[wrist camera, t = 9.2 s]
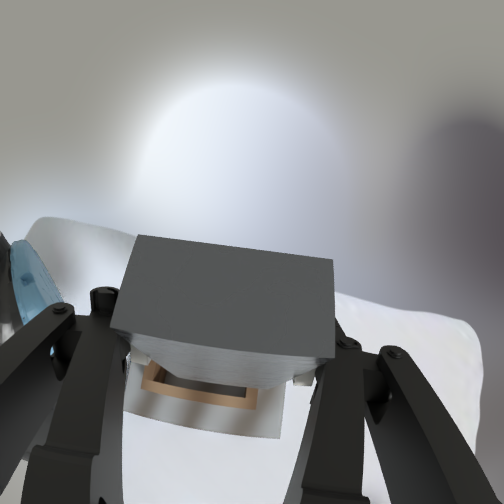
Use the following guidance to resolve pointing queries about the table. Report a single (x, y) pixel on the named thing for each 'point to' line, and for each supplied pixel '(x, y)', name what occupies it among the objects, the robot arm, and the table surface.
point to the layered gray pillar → (227, 311)
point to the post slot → (203, 403)
